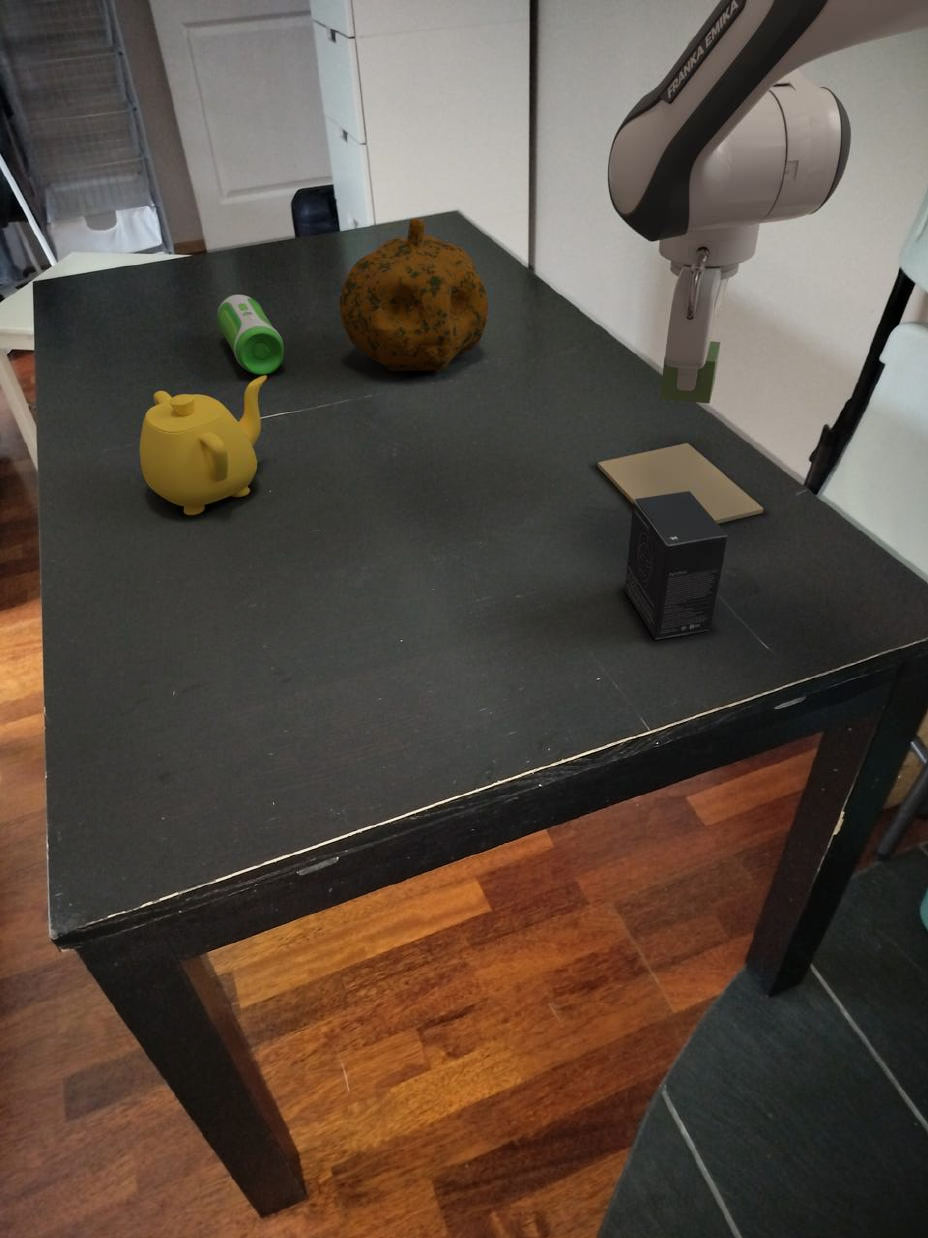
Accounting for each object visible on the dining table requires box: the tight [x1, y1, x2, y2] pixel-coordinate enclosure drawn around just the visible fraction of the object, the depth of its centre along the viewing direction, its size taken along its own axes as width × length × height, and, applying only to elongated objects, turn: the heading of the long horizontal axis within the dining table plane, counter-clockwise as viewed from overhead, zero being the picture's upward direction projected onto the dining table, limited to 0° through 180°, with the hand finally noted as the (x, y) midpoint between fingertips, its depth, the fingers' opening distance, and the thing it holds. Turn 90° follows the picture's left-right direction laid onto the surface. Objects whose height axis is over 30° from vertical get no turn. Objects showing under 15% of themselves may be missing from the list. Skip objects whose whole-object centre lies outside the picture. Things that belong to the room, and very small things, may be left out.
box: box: [624, 491, 729, 640], centre depth 78 cm, size 8×6×11 cm
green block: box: [659, 340, 721, 405], centre depth 88 cm, size 5×5×4 cm
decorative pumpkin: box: [338, 218, 489, 372], centre depth 123 cm, size 20×21×20 cm
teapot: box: [139, 374, 268, 516], centre depth 98 cm, size 14×14×12 cm
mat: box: [597, 442, 764, 525], centre depth 97 cm, size 16×12×1 cm
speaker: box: [216, 294, 285, 376], centre depth 130 cm, size 18×7×8 cm, turn 23°
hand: (690, 374), depth 89 cm, fingers closed on green block, 5 cm apart
